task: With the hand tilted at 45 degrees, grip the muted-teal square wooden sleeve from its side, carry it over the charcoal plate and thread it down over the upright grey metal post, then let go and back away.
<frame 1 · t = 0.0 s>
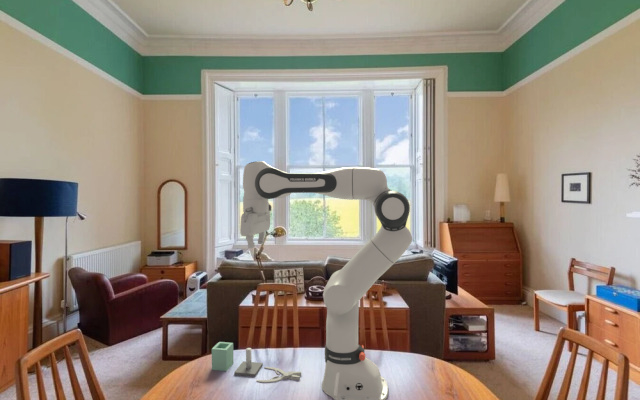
hand: (256, 245, 118), 48 cm above the table, tool pointing down, fingers open, 8 cm apart
pliers: (280, 377, 120), on the table
sleeve: (222, 366, 127), on the table
post stand: (248, 370, 124), on the table
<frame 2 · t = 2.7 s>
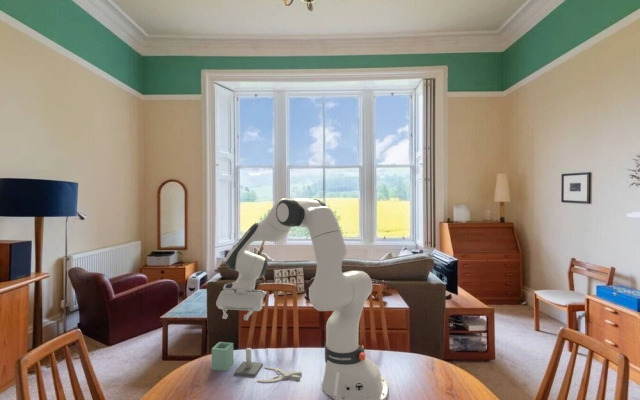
hand: (234, 318, 139), 14 cm above the table, tool tilted 45°, fingers open, 8 cm apart
nothing on the table moved.
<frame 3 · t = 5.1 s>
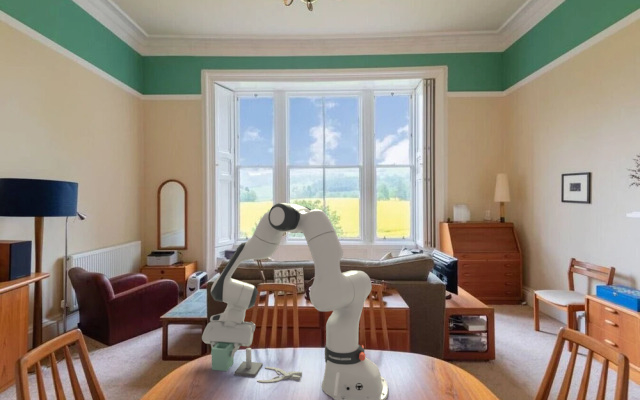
hand: (221, 355, 126), 4 cm above the table, tool tilted 45°, fingers closed on sleeve, 6 cm apart
sleeve: (222, 366, 127), on the table, touching gripper
everything else where it was.
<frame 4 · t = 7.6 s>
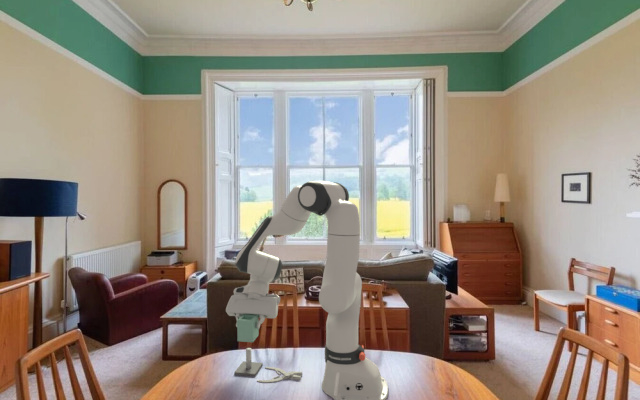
hand: (247, 327, 123), 16 cm above the table, tool tilted 45°, fingers closed on sleeve, 6 cm apart
sleeve: (248, 338, 124), point 12 cm above the table, touching gripper
everything else where it was.
when the fingers open (7 cm above the table, at t = 10.1 s): sleeve drops 1 cm, resting on post stand.
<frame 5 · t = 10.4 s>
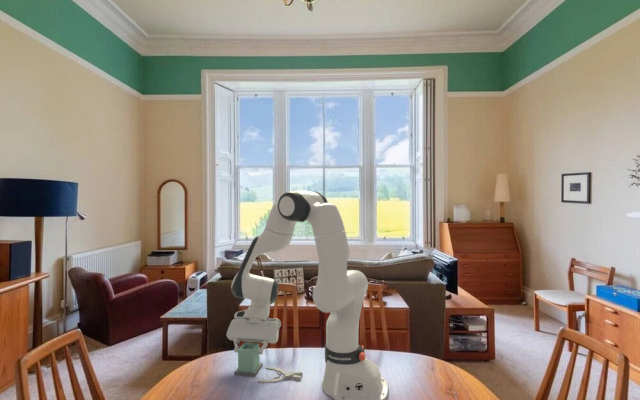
hand: (248, 352, 124), 7 cm above the table, tool tilted 45°, fingers open, 8 cm apart
sleeve: (249, 367, 124), point 1 cm above the table, touching post stand
everything else where it was.
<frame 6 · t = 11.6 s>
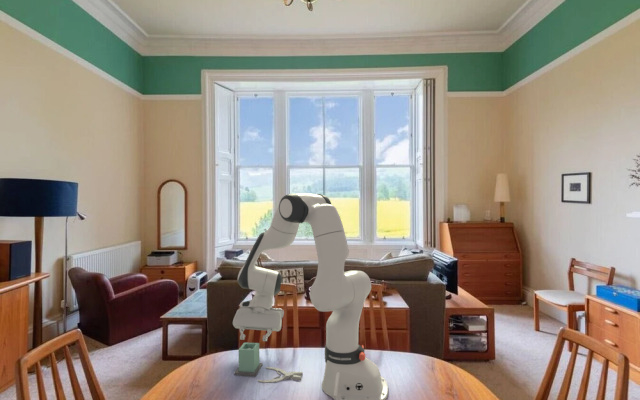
hand: (253, 339, 132), 8 cm above the table, tool tilted 45°, fingers open, 8 cm apart
nothing on the table moved.
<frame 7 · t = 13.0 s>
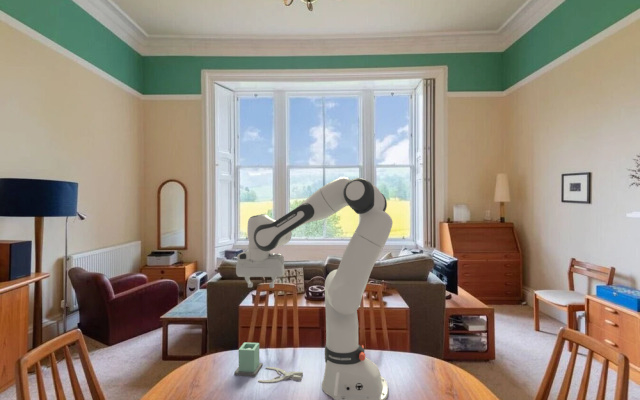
hand: (261, 287, 136), 28 cm above the table, tool pointing down, fingers open, 8 cm apart
nothing on the table moved.
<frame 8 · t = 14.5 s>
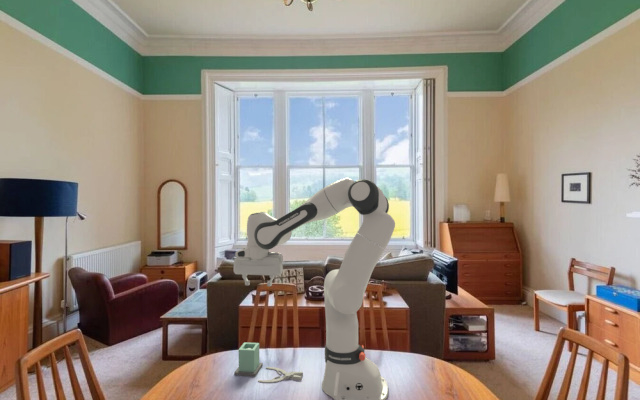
hand: (258, 285, 135), 29 cm above the table, tool pointing down, fingers open, 8 cm apart
nothing on the table moved.
at the end: sleeve 0.2 cm from the post stand (horizontally); sleeve point 1.0 cm above the table; sleeve tilted 0° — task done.
